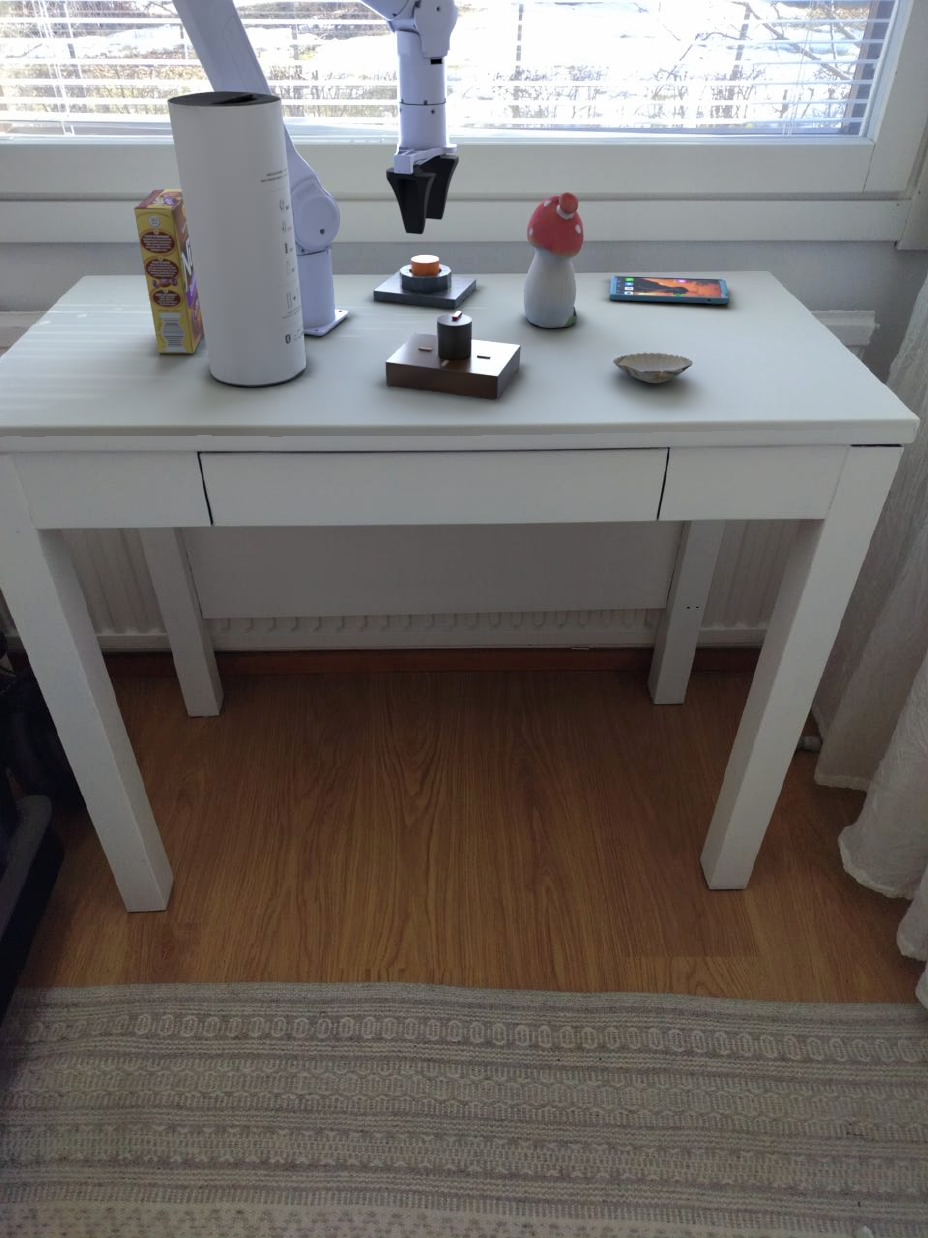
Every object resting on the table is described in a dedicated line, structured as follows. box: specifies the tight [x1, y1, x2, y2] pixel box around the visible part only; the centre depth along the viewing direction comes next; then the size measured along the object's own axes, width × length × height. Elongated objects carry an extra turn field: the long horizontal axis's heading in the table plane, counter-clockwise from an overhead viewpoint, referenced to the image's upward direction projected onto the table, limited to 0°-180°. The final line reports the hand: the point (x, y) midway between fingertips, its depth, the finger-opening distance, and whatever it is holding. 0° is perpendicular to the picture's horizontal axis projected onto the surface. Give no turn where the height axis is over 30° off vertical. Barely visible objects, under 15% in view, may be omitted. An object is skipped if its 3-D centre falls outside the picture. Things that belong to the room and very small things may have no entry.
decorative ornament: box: [523, 192, 585, 329], centre depth 107 cm, size 9×6×15 cm
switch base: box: [372, 263, 477, 310], centre depth 119 cm, size 11×9×3 cm
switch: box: [410, 254, 440, 275], centre depth 117 cm, size 4×4×2 cm
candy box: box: [133, 188, 204, 355], centre depth 101 cm, size 9×4×15 cm, turn 2°
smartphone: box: [608, 275, 730, 306], centre depth 120 cm, size 8×1×15 cm
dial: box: [436, 310, 473, 359], centre depth 95 cm, size 4×4×4 cm
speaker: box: [166, 91, 307, 388], centre depth 91 cm, size 11×10×26 cm
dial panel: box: [384, 332, 521, 401], centre depth 97 cm, size 12×9×3 cm
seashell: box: [612, 352, 693, 384], centre depth 97 cm, size 8×3×8 cm
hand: (424, 225), depth 115 cm, fingers open, 7 cm apart
